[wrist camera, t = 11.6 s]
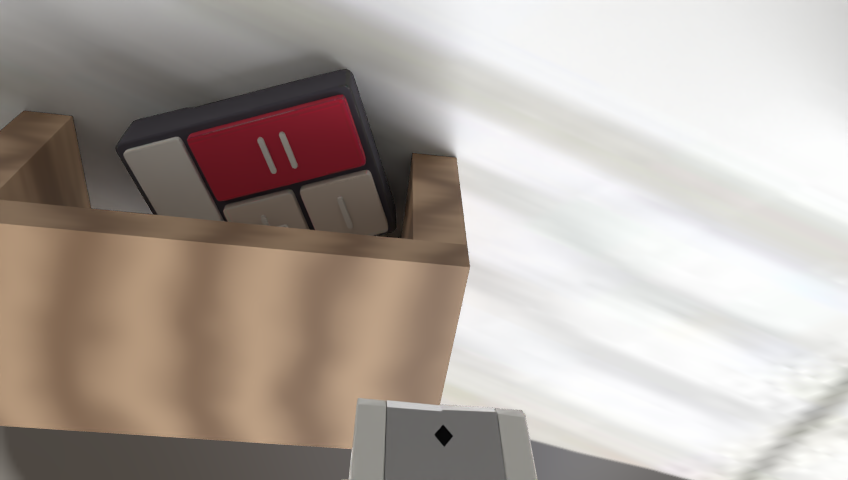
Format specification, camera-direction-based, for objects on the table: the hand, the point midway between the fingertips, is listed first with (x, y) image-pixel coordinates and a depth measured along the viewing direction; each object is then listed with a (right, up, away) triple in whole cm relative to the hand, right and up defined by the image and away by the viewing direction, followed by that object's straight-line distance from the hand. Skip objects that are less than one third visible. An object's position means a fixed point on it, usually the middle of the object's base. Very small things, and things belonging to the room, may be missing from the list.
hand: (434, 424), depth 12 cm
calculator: (-11, +9, +33) cm, 35 cm away
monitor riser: (-13, +4, +35) cm, 38 cm away
